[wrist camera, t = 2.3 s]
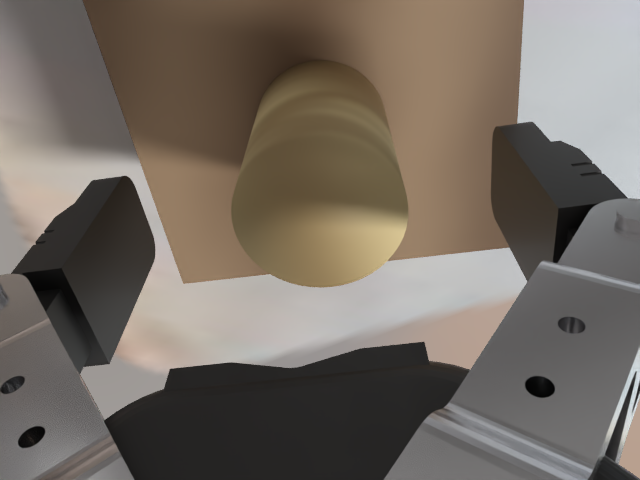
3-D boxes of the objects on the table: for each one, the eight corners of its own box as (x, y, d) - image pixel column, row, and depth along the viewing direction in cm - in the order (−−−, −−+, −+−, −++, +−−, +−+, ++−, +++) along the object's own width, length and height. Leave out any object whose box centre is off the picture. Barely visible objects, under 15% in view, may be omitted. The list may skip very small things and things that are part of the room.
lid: (503, -115, 14) (636, -111, 8) (492, 212, 19) (568, 362, 13) (101, -48, 15) (-51, 2, 9) (196, 247, 20) (141, 402, 14)
